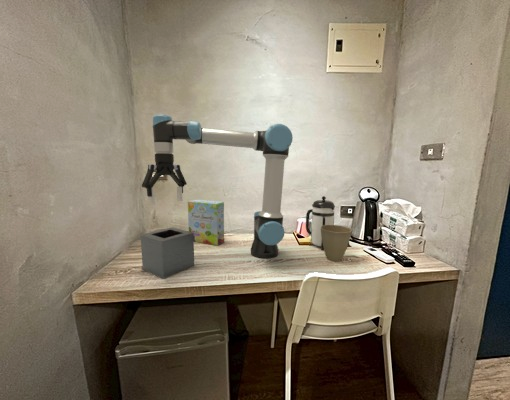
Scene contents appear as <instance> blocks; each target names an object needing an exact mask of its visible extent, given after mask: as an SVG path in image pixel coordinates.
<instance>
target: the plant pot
mask: <svg viewBox="0 0 510 400" xmlns="http://www.w3.org/2000/svg"><path fill="white" fill-rule="evenodd" d="M352 231H353V229H351V228H349V227H347V226H342V225H337V224H335V225H323V226H321V237H322V243H323V247H324V250H323V251H324V254H325V258H326V259H327V260H328V261H332V262H340V261H342V260H343V257H344V255H345V253H346V252H347V250H348V249H347V248H348V246H349V244H350V241H351V240H350V239H351V236H352Z"/></svg>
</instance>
